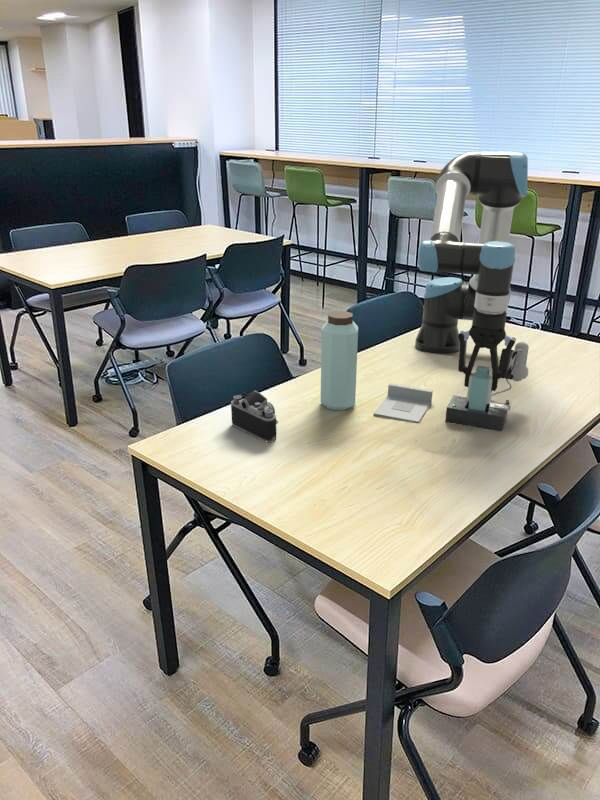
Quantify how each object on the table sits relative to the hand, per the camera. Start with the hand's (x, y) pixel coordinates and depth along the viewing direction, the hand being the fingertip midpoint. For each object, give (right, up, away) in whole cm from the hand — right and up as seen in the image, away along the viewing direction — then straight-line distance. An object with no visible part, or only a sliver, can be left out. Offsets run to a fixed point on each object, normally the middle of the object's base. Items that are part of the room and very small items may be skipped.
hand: (478, 399), depth 159 cm
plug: (0, -3, +1) cm, 3 cm away
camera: (-55, -7, -1) cm, 55 cm away
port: (0, -6, +3) cm, 6 cm away
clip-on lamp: (+10, -2, +10) cm, 14 cm away
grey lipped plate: (-17, -2, +9) cm, 20 cm away
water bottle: (-35, -1, +12) cm, 37 cm away
